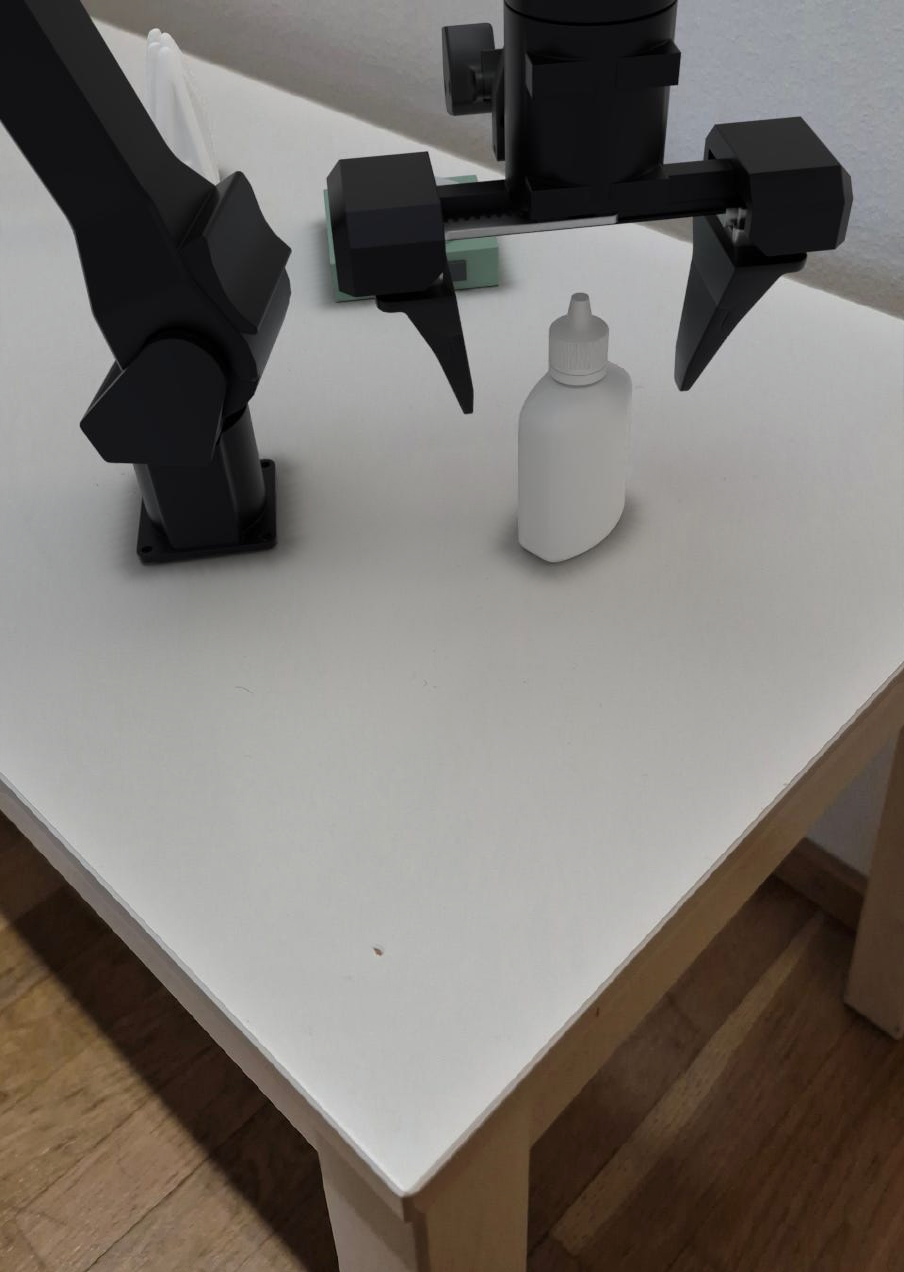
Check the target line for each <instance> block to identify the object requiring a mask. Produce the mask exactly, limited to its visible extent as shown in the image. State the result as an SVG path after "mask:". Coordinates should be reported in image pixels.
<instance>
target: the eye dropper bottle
mask: <svg viewBox="0 0 904 1272" xmlns="http://www.w3.org/2000/svg"><path fill="white" fill-rule="evenodd" d="M609 340H610V328H609V325H608V324H607V322H606V321H605V320H604V319H602V318H601V317H599V316H597V315H594V314H593V311H592V307H591V300H590V296H589V294H587V293H586V292H575V293H573V294H572V295H571V297H570V300H569V305H568V309H567V313H566V314H564V315H561V316H559V317H557V318H556V319H554V321H552V322H551V324H550V325H549V328H548V361H547V362H548V366H547V367H548V368H547V370H548V371H547V372H546V373H544V375H543V376H542V377H541V378H540V379H539V380H538V381H537V382H536V383H535V385H534V386H533V388H532V389H531V390H530V392H529V393H528V395H527V397H525V400H524V401H523V404H522V406H521V409H520V412H519V415H518V424H517V426H518V427H517V517H518V518H517V524H518V525H517V526H518V529H517V530H518V531H517V532H518V535H517V536H518V543H519V545H520V546H521V547H522V548H524V549H525V550H527V551H528V552H530V553H531V554H533V555H535V556H537V557H538V558H540V559H541V560H544V561H546V562H549V563H560V562H563V561H566V560H569V559H572V558H574V557H576V556H579V555H581V554H583V553H585V552H587V551H589V550H591V549H592V548H594V547H595V546H597V545H598V544H599V543H601V542H602V541H603V540H605V538H606V537H608V535H609V534H610V533H611V532H613V529H614V528H615V527H616V525H617V524H618V522H619V520H620V519H621V517H622V515H623V511H624V509H625V504H626V492H627V478H628V466H629V465H628V464H629V450H630V438H631V424H632V423H631V422H632V409H633V389H634V388H633V380H632V377H631V374H630V373H629V372H628V371H627V370H626V369H625V368H624V367H621V366H620V365H619V364H617V363H615V362H612V361H610V360H608V359H609V358H608V357H609V343H610V342H609Z"/></svg>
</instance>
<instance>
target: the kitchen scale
mask: <svg viewBox="0 0 904 1272" xmlns="http://www.w3.org/2000/svg"><path fill="white" fill-rule="evenodd" d="M434 177H435V181H436V185H437V186H438V185H449V184H459V183H470V182H479V180H478V176H477V174H469V175H458V176H457V175H456V176H447V177H443V176H442V177H441V176H437V175H436V176H435V175H434ZM323 203H324V213H325V223H326V233H327V243H328V245H327V246H328V255H329V264H330V273H331V279H332V280H331V282H332V288H333V295H334V296H333V297H334V302H336V303H337V302H347V301H348V302H349V301H356V300H366V299H375V296H365V297H353V296H350V295H348V294H345V293H342V292H340V291H339V288H338V280H337V272H336V263H335V255H334V247H333V238H332V230H331V220H330V210H329V200H328V190H327V188H325V189H323ZM445 242H446V255H447V259H448V264H449V268H450V272H451V276H452V280H453V284H454V289H455V291H456V290H463V289H464V290H465V289H473V288H474V289H475V288H485V287H495V286H500V250H499V249H500V247H499V244H498V241H497V236H493V237H483V238H473V239H462V240H452V241H445Z"/></svg>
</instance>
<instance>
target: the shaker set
mask: <svg viewBox="0 0 904 1272" xmlns="http://www.w3.org/2000/svg"><path fill="white" fill-rule="evenodd" d="M143 106H144V108H145V109H146V111H147V113H148V114H149V116H150V118H151V119H152V121H153V123H154V124H155V126H156V128H157V129H158V131H159V133H160V134H161V136H162V138H163V139H164V141H165V143H166V144H167V146H168V147H169V148H170V150H171V151H172V152H173V153H174V154H175V156H176V157H177V158H178V159H179V160H180V161H182V162H183V163H184V164H186V165H187V166H189V167H190V168H191V169H193V170H194V171H196V172H197V173H198V174H200V175H201V176H203V177H204V178H205V179H207V180H208V181H210V182H211V183H212V184H214V185H217V184H218V183H220V182H221V179H220V178H221V176H220V173H219V169H218V162H217V157H216V152H215V147H214V141H213V140H214V139H213V136H212V130H211V126H210V121H209V116H208V111H207V106H206V102H205V99H204V96H203V92H202V89H201V88H200V86H199V83H198V81H197V79H196V77H195V75H194V73H193V71H192V69H191V67H190V64H189V63H188V62H187V59H186V57H185V56H184V54H183V52H182V51H181V49H180V47H179V45H178V44H177V42H176V41H175V40H174V38H173V37H172V36H171V35H170V33H167V32H163V33H162V32H161V30H160V28H153V29H151V30H150V31H149V32H148V34H147V40H146V53H145V64H144V104H143Z"/></svg>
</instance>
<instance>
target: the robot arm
mask: <svg viewBox="0 0 904 1272" xmlns="http://www.w3.org/2000/svg"><path fill="white" fill-rule="evenodd" d="M502 1H503V2H502V3H503V5H502V7H503V10H502V11H503V46H502V48H496V44H495V42H496V41H495V34H494V28H493V25H492V23H489V22H477V23H466V24H465V23H464V24H456V25H454V24H453V25H444V26H442V27H441V51H442V54H441V55H442V76H443V88H444V90H443V91H444V101H445V109H446V113H447V114H448V115H449V116H452V117H460V116H461V117H462V116H472V115H483V114H491V139H492V140H491V141H492V142H491V145H492V152H493V154H494V157H495V160H496V162H497V163H499V162H500V163H501V162H504V179H501V178H500V179H492V180H483V181H478V182H470V183H459V184H449V185H438V186H437V185H436V181H435V177H434V176H435V173H434V169H433V165H432V162H431V161H432V160H431V157H430V153H429V150H426V151H425V150H424V151H413V152H405V153H394V154H393V153H391V154H384V155H383V154H382V155H371V156H361V157H350V158H349V157H348V158H341V159H340V158H339V159H338V161H336V163H335V164H334V166H333V167H332V169H331V171H329V174H328V175H327V176H326V178H325V179H326V189H327V190H328V200H329V210H330V220H331V230H332V238H333V247H334V255H335V263H336V272H337V280H338V288H339V291H340V292H342V293H345V294H348V295H350V296H353V297H365V296H375V298H374V299H375V305H376V308H377V309H378V311H380V312H383V313H386V314H396V313H398V314H399V313H402V314H405V315H406V317H407V318H408V319H409V321H410V322H411V323H412V325H413V326H414V327H415V329H416V331H417V332H418V333H419V335H420V337H422V339H423V340H424V341H425V342H426V344H427V345H428V347H429V348H430V349H431V351H432V352H433V354H434V356H435V357H436V359H437V361H438V363H439V365H440V368H441V369H442V372H443V373H444V376H445V378H446V380H447V382H448V385H449V386H450V388H451V390H452V392H453V395H454V397H455V399H456V401H457V402H458V404H459V405H458V406H459V407H460V409H461V411H462V413H463V415H473V413H474V403H475V402H474V399H475V391H474V385H473V378H472V374H471V373H472V372H471V368H470V363H469V357H468V351H467V347H466V341H465V336H464V331H463V325H462V319H461V315H460V309H459V304H458V298H457V293H456V290H455V289H454V284H453V280H452V276H451V272H450V268H449V264H448V259H447V255H446V242H445V241H452V240H462V239H473V238H483V237H493V236H495V237H502V236H512V235H523V234H533V233H542V232H552V231H553V232H555V231H563V230H564V231H565V230H573V229H584V228H595V227H604V226H615V225H625V224H634V223H645V222H655V221H656V222H657V221H666V220H677V219H686V218H688V219H689V218H692V252H691V253H692V255H691V261H690V266H689V272H688V277H687V281H686V288H685V294H684V299H683V305H682V309H681V315H680V321H679V326H678V331H677V337H676V341H675V352H674V371H673V378H674V382H675V385H676V387H677V389H678V392H680V393H681V392H689V391H690V390H691V389H692V387H693V386H694V385H695V383H696V382H697V381H698V379H699V377H701V375H702V373H703V372H704V371H705V369H706V368H707V367H708V365H709V363H711V361H712V360H713V359H714V357H715V356H716V354H717V353H718V351H719V350H720V349H721V347H722V346H723V345H724V343H725V342H726V341H727V339H728V337H729V336H730V335H731V333H732V332H733V331H734V330H735V328H736V327H737V326H738V325H739V324H740V322H741V321H742V320H743V319H744V318H745V317H746V316H747V314H749V312H750V311H751V310H752V309H753V308H754V307H755V305H756V304H758V302H759V301H760V300H761V299H762V298H763V297H764V296H765V294H766V293H768V291H769V290H770V289H771V288H772V286H773V285H774V284H776V282H777V281H778V280H779V279H780V278H781V277H782V276H784V275H786V274H795V273H798V272H801V271H802V270H803V269H805V266H806V264H807V260H808V253H815V252H823V251H834V250H836V249H838V247H839V246H841V245H842V244H843V243H844V242H845V240H846V237H847V233H848V232H847V231H848V228H849V227H848V226H849V223H850V217H851V212H852V207H853V203H854V193H853V185H852V183H853V182H852V176H851V174H850V173H849V172H848V170H846V168H845V167H844V166H843V164H842V163H841V162H840V161H839V160H838V159H837V157H836V156H835V155H834V154H833V152H832V151H831V150H830V149H829V148H828V146H827V145H826V144H825V143H824V142H823V140H822V139H821V138H820V137H819V136H818V134H817V133H816V132H815V131H814V130H813V128H812V127H811V126H810V125H809V124H808V123H807V121H805V119H804V118H803V117H802V116H801V115H800V116H799V115H798V116H790V117H789V116H788V117H778V118H777V117H776V118H767V119H757V120H756V119H755V120H747V121H737V122H724V123H714V125H713V127H712V128H711V129H710V131H709V132H708V134H707V135H706V137H705V138H704V147H703V148H704V149H703V158H702V160H692V161H681V162H671V163H664V161H665V151H666V141H667V140H666V139H667V128H668V116H669V105H670V95H671V87H673V86H679V84H680V83H679V81H680V71H681V60H682V52H681V50H680V49H679V48H678V47H679V46H677V44H676V43H675V39H676V38H675V37H676V28H677V27H676V26H677V15H678V6H679V5H678V3H679V0H502ZM0 124H1V125H2V127H3V128H4V129H5V131H6V133H7V134H8V135H9V137H10V139H11V140H12V142H13V143H14V144H15V146H16V148H17V149H18V150H19V152H20V153H21V154H22V156H23V158H24V159H25V160H26V162H27V163H28V165H29V166H30V168H31V169H32V171H33V172H34V173H35V175H36V176H37V178H38V179H39V181H40V182H41V184H42V185H43V187H44V189H46V191H47V192H48V194H49V195H50V197H51V199H52V200H53V201H54V203H55V204H56V205H57V207H58V208H59V209H60V211H61V213H62V214H63V216H64V217H65V219H66V221H67V222H68V225H69V227H70V228H71V230H72V233H73V236H74V241H75V244H76V245H75V246H76V249H77V254H78V259H79V263H80V267H81V271H82V272H81V273H82V276H83V280H84V284H85V289H86V293H87V298H88V302H89V307H90V311H91V314H92V317H93V319H94V321H95V323H96V325H97V327H98V329H99V331H100V333H101V334H102V335H101V336H103V338H104V340H105V343H106V345H107V346H108V348H109V351H110V352H111V354H112V356H113V358H114V361H113V362H112V365H111V366H110V368H109V370H108V372H107V374H106V375H105V377H104V379H103V381H102V383H101V385H100V386H99V388H98V390H97V391H96V393H95V395H94V397H93V398H92V400H91V402H90V404H89V405H88V407H87V409H86V410H85V413H84V414H83V416H82V418H81V420H80V421H79V429H80V430H81V432H82V433H83V435H85V437H86V439H87V440H88V441H89V442H90V444H91V445H92V447H93V448H94V449H95V451H96V453H98V454H99V456H100V457H101V459H102V460H103V461H104V462H106V463H108V464H126V465H127V464H129V465H132V467H133V470H134V474H135V477H136V480H137V483H138V487H139V490H140V493H141V504H140V514H139V523H138V532H137V541H136V542H137V543H136V555H137V558H138V560H139V562H140V563H143V564H152V563H161V562H172V561H179V560H187V559H189V560H190V559H196V558H206V557H215V556H223V555H232V554H233V555H234V554H242V553H249V552H250V553H251V552H259V551H268V550H271V549H273V548H275V547H276V546H277V545H278V542H279V537H278V536H279V533H278V492H277V490H278V489H277V487H278V485H277V468H276V467H277V466H276V463H275V461H274V460H273V459H271V458H262V459H260V455H259V450H258V445H257V440H256V435H255V431H254V425H253V420H252V415H251V411H250V410H251V409H250V406H249V402H250V401H251V399H252V398H253V397H254V396H255V394H256V392H257V389H258V386H259V385H260V381H261V380H262V377H263V375H264V371H265V369H266V366H267V364H268V362H269V359H270V357H271V354H272V352H273V349H274V346H275V344H276V342H277V339H278V336H279V334H280V332H281V329H282V327H283V324H284V322H285V319H286V315H287V312H288V309H289V307H290V303H291V297H292V286H291V280H290V276H289V274H288V271H287V269H286V267H287V264H288V262H289V259H290V257H291V254H292V252H293V250H292V247H290V246H289V245H288V244H287V243H286V242H285V241H284V240H282V239H281V237H279V236H278V235H277V234H276V233H275V231H274V230H273V229H272V227H271V225H270V224H269V223H268V222H267V220H266V218H265V216H264V214H263V212H262V210H261V207H260V204H259V202H258V199H257V196H256V194H255V191H254V189H253V186H252V184H251V183H250V180H249V179H248V177H247V176H246V175H245V173H244V172H243V171H241V170H235V171H234V172H233V173H231V174H229V175H228V176H227V177H225V178H224V179H223V180H220V183H218V184H217V185H214V184H212V183H211V182H210V181H208V180H207V179H205V178H204V177H203V176H201V175H200V174H198V173H197V172H196V171H194V170H193V169H191V168H190V167H189V166H187V165H186V164H184V163H183V162H182V161H180V160H179V159H178V158H177V157H176V156H175V154H174V153H173V152H172V151H171V150H170V148H169V147H168V146H167V144H166V143H165V141H164V139H163V138H162V136H161V134H160V133H159V131H158V129H157V128H156V126H155V124H154V123H153V121H152V119H151V118H150V116H149V114H148V113H147V111H146V109H145V108H144V103H142V101H141V99H140V97H139V96H138V93H136V91H135V89H134V88H133V86H132V84H131V83H130V81H129V79H128V78H127V76H126V75H125V73H124V71H123V68H121V66H120V64H119V63H118V60H117V59H116V57H115V56H114V54H113V53H112V51H111V49H110V47H109V46H108V43H106V41H105V39H104V38H103V36H102V34H101V32H100V30H99V29H98V28H97V25H96V24H95V23H94V21H93V19H92V18H91V16H90V14H89V12H88V11H87V9H86V8H85V6H84V4H83V2H82V1H81V0H0Z"/></svg>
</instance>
